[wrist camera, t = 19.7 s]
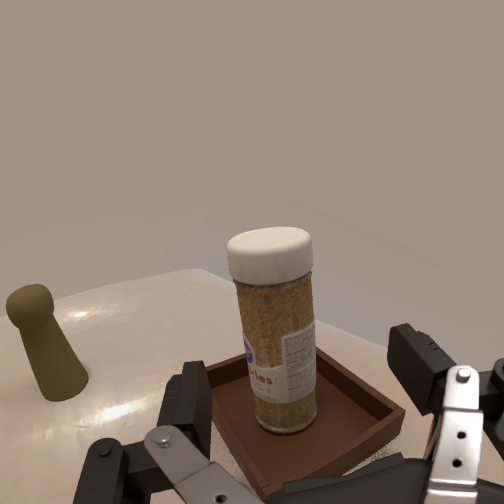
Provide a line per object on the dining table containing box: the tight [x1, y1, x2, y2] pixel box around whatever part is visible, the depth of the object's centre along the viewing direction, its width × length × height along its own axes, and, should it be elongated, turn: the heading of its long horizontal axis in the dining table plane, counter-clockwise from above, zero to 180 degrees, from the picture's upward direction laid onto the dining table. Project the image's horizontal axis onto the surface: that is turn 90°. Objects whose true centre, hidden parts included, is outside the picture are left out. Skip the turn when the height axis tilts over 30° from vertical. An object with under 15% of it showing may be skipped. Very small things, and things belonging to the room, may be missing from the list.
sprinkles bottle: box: [226, 227, 317, 434], centre depth 18 cm, size 5×5×14 cm
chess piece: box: [6, 284, 88, 401], centre depth 24 cm, size 6×6×11 cm
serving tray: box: [205, 346, 406, 500], centre depth 20 cm, size 13×10×3 cm
